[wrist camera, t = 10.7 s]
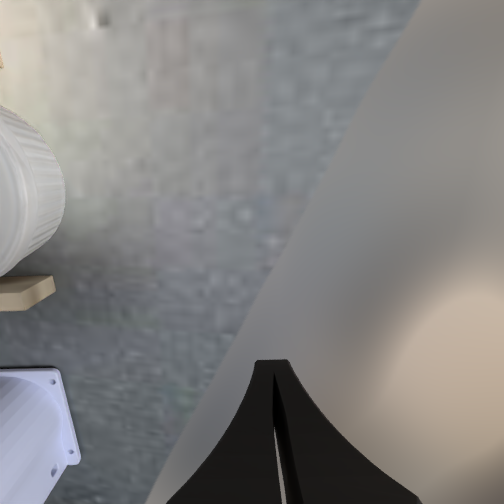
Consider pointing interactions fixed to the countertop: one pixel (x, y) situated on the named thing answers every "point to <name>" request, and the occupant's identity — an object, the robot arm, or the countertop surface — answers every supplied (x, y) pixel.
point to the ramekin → (26, 190)
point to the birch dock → (23, 287)
